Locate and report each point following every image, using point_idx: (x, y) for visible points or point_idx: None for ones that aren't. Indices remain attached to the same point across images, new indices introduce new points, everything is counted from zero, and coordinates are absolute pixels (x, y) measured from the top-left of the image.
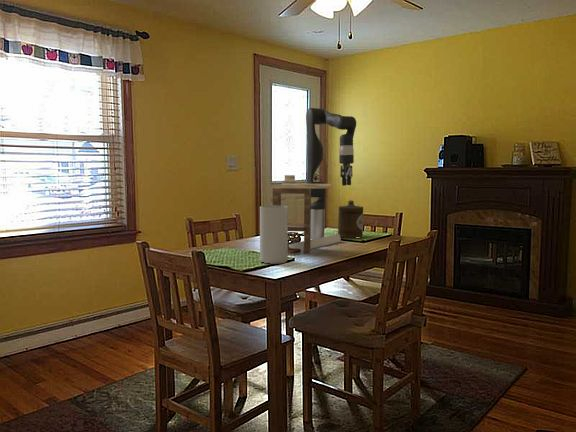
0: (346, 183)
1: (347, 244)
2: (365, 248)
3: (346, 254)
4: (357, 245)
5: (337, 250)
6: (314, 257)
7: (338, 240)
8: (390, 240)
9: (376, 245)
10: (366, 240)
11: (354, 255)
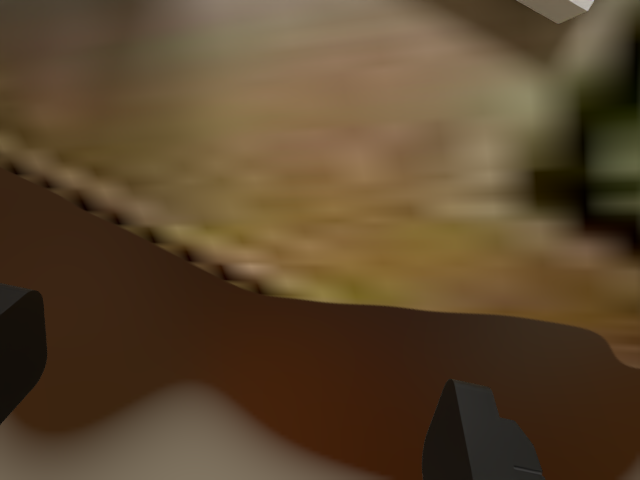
0: (6, 405)
1: (429, 89)
2: (296, 211)
3: (68, 116)
4: (397, 160)
5: (171, 45)
6: None
7: (532, 5)
8: (631, 349)
9: (418, 269)
10: (632, 210)
11: (60, 161)
